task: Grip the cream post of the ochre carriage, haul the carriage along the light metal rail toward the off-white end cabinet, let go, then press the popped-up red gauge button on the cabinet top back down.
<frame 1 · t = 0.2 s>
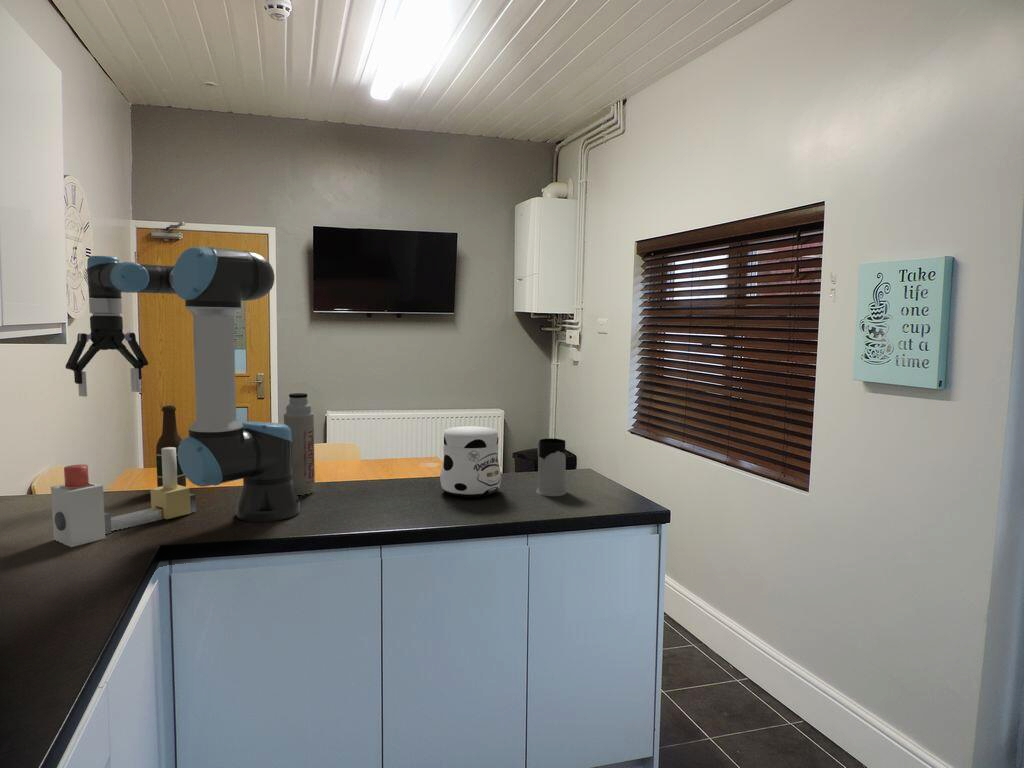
hand: (110, 393, 184), 28 cm above the worktop, tool pointing down, fingers open, 13 cm apart
cabinet: (79, 539, 150), on the worktop
thermos bottle: (300, 492, 192), on the worktop
carriage: (169, 481, 168), point 9 cm above the worktop, slide at 0.0 cm
beer bottle: (172, 491, 192), on the worktop
milk container: (470, 493, 194), on the worktop
gauge button: (76, 475, 149), point 14 cm above the worktop, slide at 0.0 cm
rail: (147, 521, 164), on the worktop
glass holder: (547, 490, 198), on the worktop
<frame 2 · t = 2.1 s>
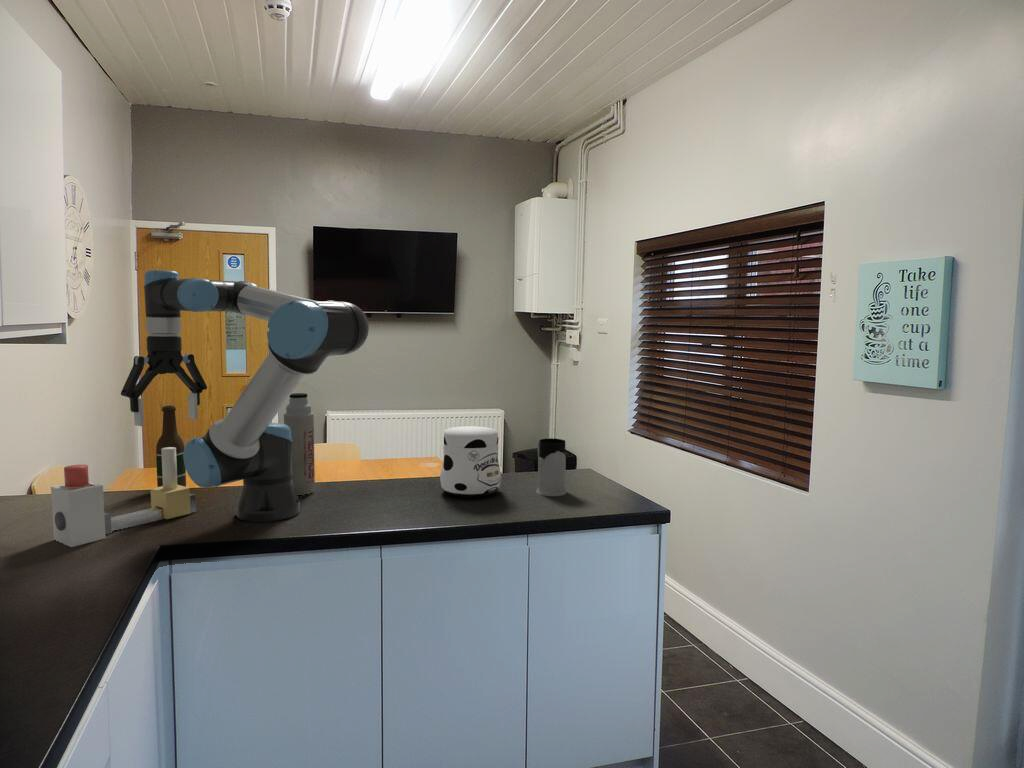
hand: (167, 422, 167), 23 cm above the worktop, tool pointing down, fingers open, 13 cm apart
nothing on the worktop moved.
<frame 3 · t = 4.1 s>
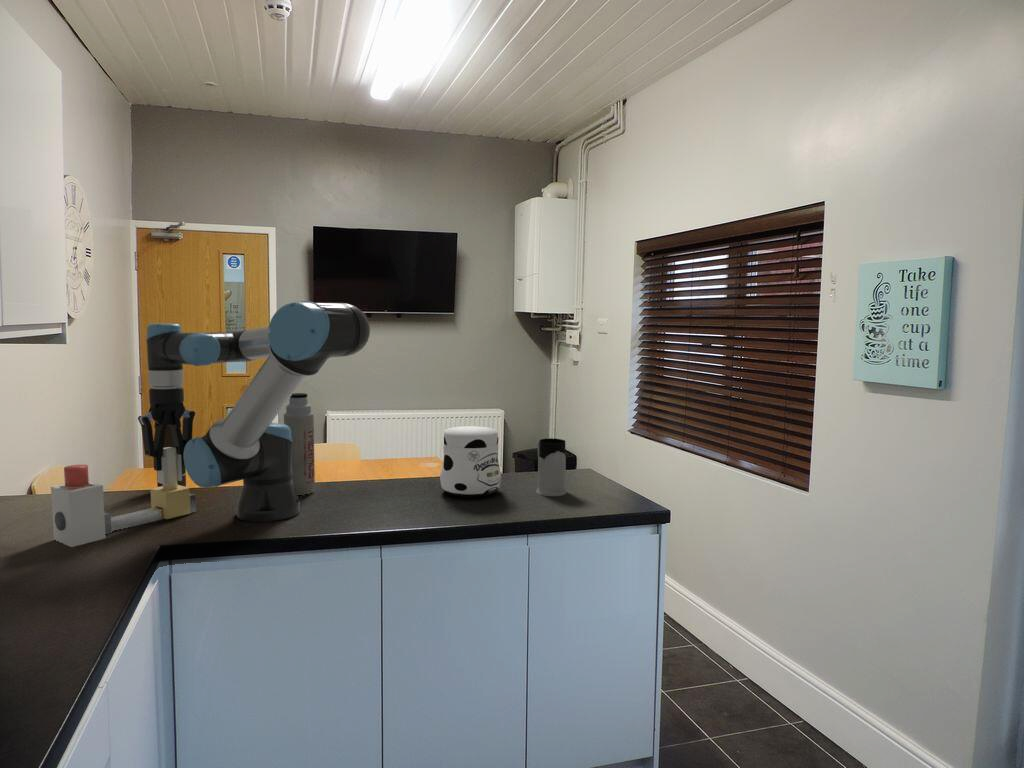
hand: (169, 481, 168), 9 cm above the worktop, tool pointing down, fingers closed on carriage, 3 cm apart
carriage: (169, 481, 168), point 9 cm above the worktop, slide at 0.0 cm, touching gripper
everything else where it was.
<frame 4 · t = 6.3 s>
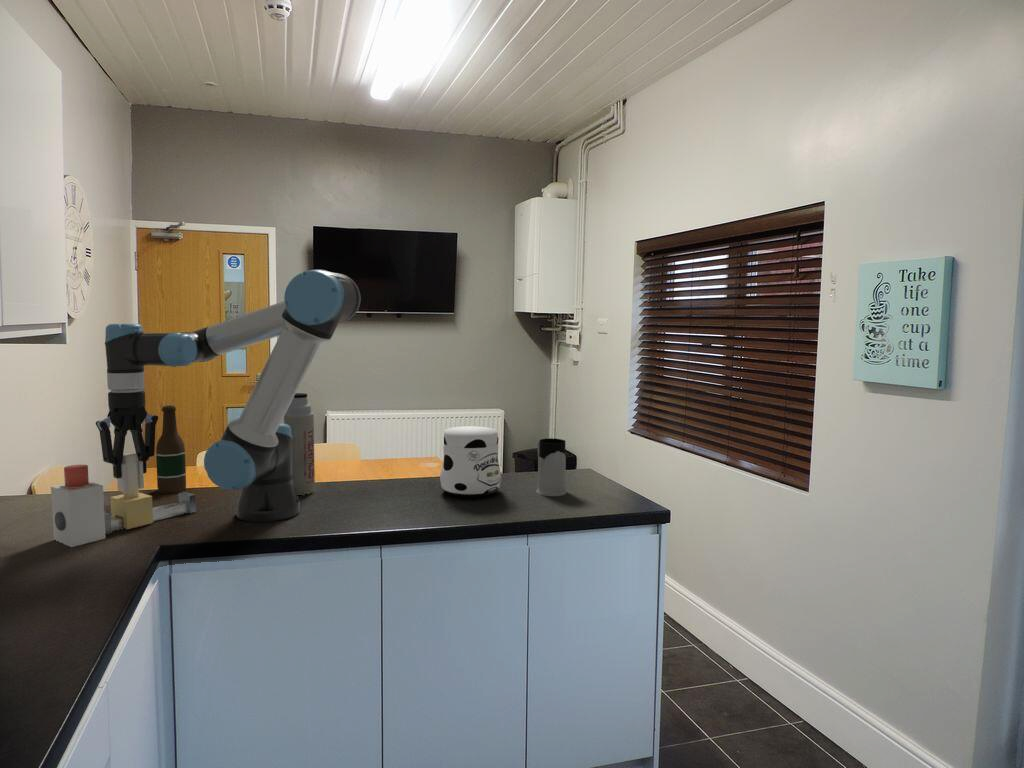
hand: (130, 489, 160), 9 cm above the worktop, tool pointing down, fingers closed on carriage, 3 cm apart
carriage: (131, 489, 160), point 9 cm above the worktop, slide at 9.5 cm, touching gripper
everything else where it was.
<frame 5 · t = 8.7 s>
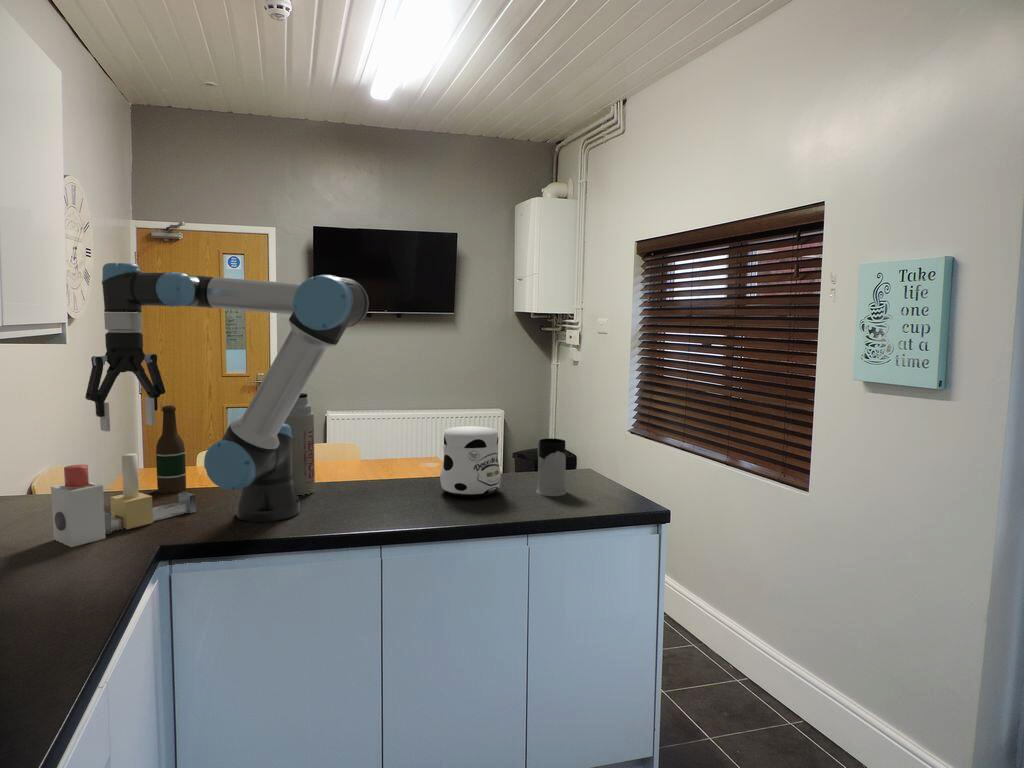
hand: (128, 427, 159), 23 cm above the worktop, tool pointing down, fingers open, 10 cm apart
carriage: (131, 489, 160), point 9 cm above the worktop, slide at 9.5 cm
everything else where it was.
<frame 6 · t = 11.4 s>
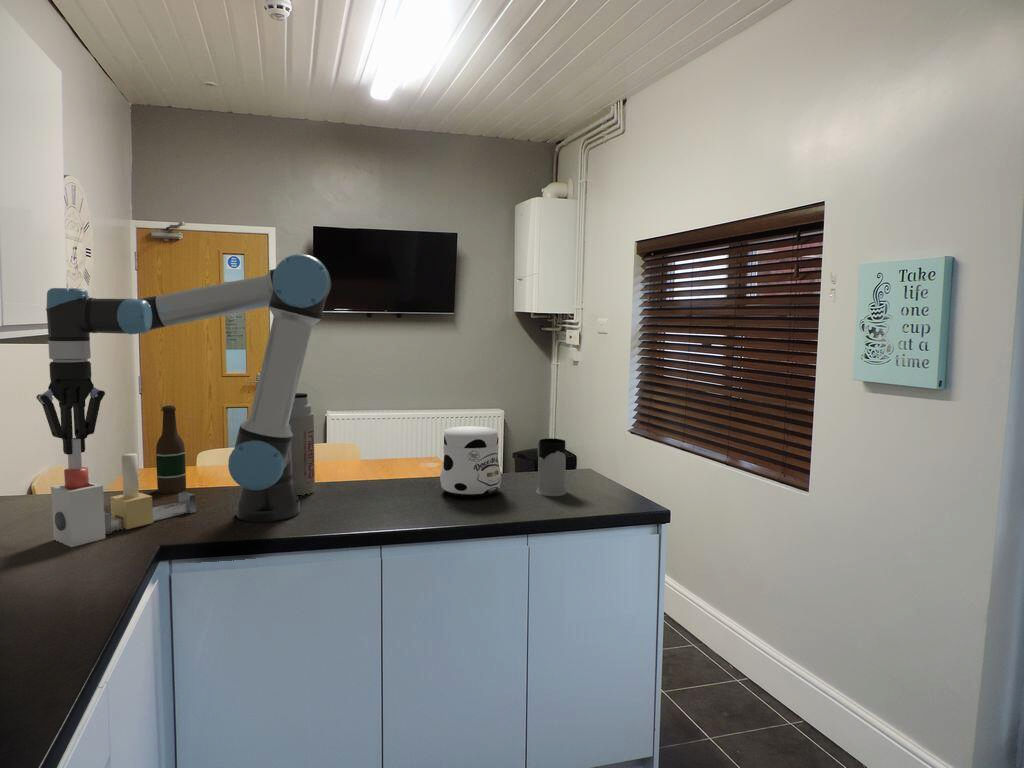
hand: (75, 468, 149), 16 cm above the worktop, tool pointing down, fingers closed
gauge button: (76, 478, 149), point 14 cm above the worktop, slide at 0.5 cm, touching gripper
everything else where it was.
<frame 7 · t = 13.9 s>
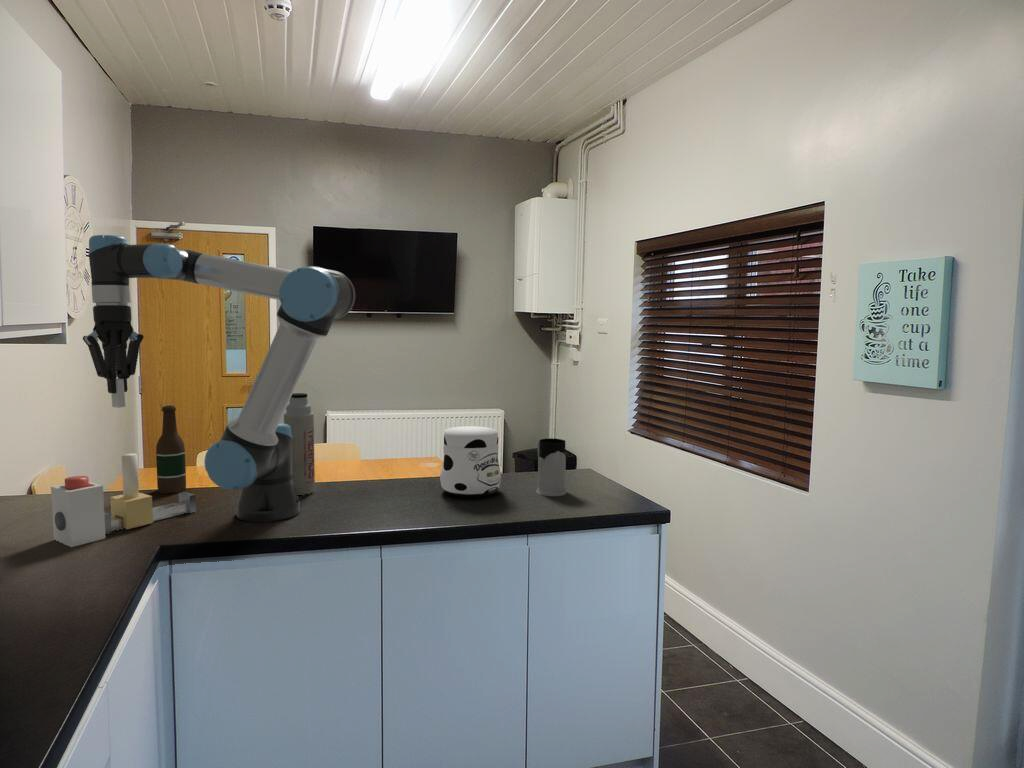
hand: (118, 406, 158), 28 cm above the worktop, tool pointing down, fingers closed
gauge button: (77, 487, 149), point 12 cm above the worktop, slide at 2.6 cm
everything else where it was.
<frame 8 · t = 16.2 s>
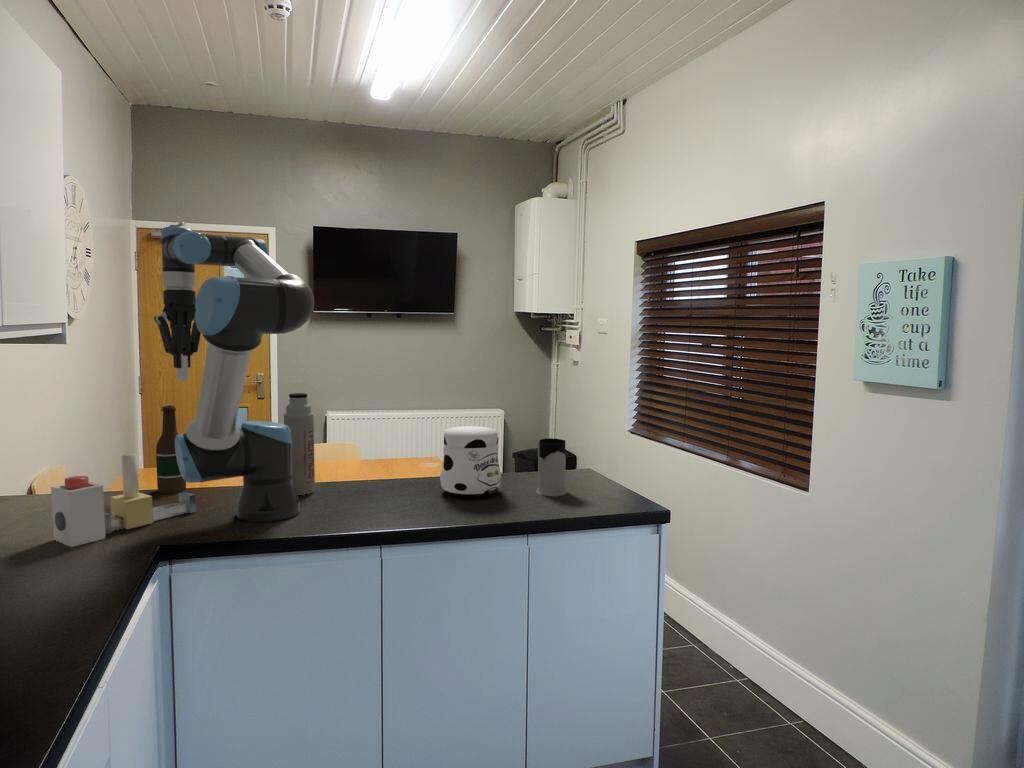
hand: (182, 380, 177), 32 cm above the worktop, tool pointing down, fingers closed
nothing on the worktop moved.
at the end: carriage slide at 9.5 cm; gauge button slide at 2.6 cm; the gripper is holding nothing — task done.
